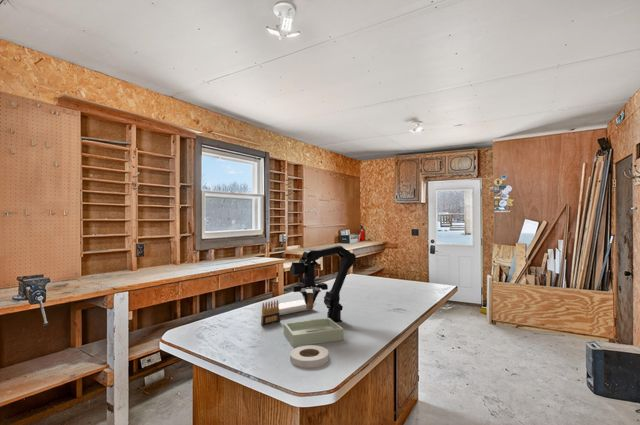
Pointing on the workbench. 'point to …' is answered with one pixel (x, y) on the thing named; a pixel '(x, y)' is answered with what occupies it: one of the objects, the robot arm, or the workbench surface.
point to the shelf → (292, 307)
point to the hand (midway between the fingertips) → (309, 303)
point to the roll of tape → (314, 361)
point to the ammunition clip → (270, 313)
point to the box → (312, 332)
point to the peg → (309, 301)
